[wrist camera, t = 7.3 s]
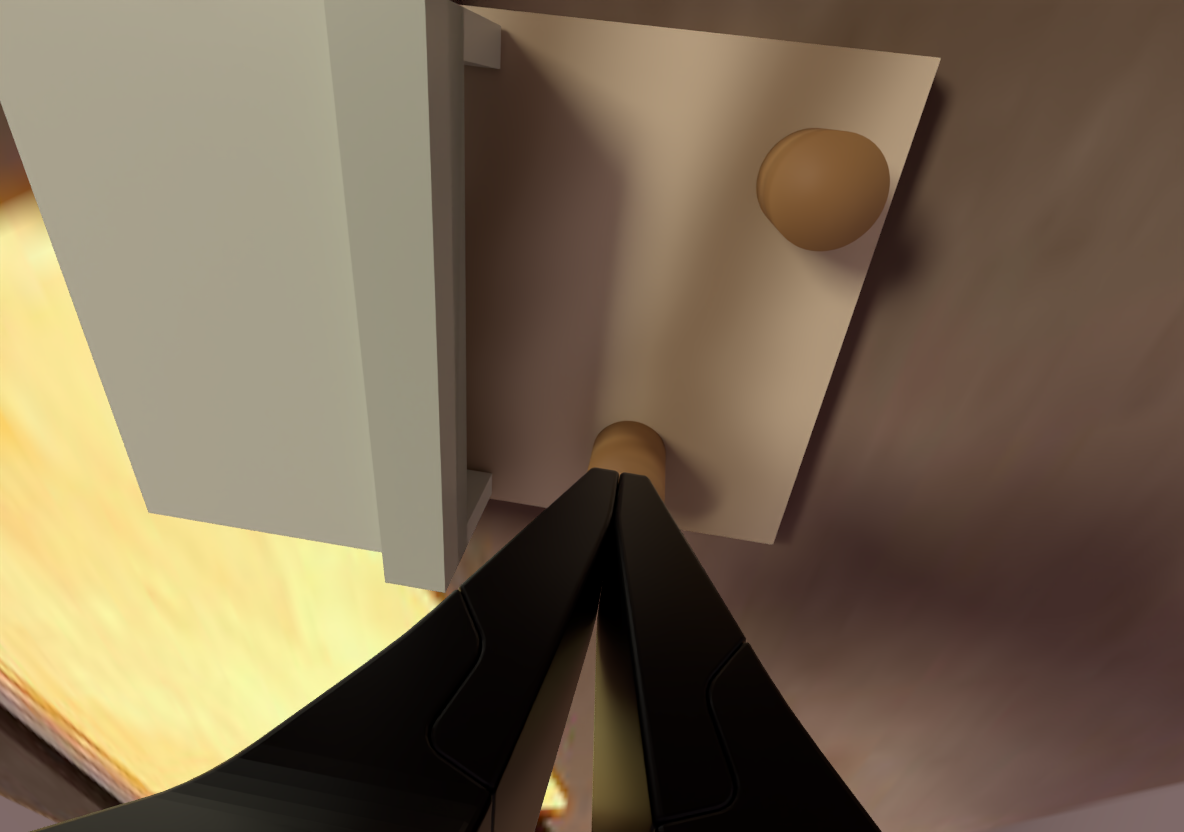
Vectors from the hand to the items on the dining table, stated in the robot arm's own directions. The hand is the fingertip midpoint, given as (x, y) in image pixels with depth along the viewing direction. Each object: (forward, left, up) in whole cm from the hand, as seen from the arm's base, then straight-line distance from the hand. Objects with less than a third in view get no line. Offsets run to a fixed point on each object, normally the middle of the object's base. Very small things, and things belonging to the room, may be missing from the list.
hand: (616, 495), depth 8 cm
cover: (+8, 0, -7) cm, 11 cm away
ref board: (+4, 0, -9) cm, 10 cm away
